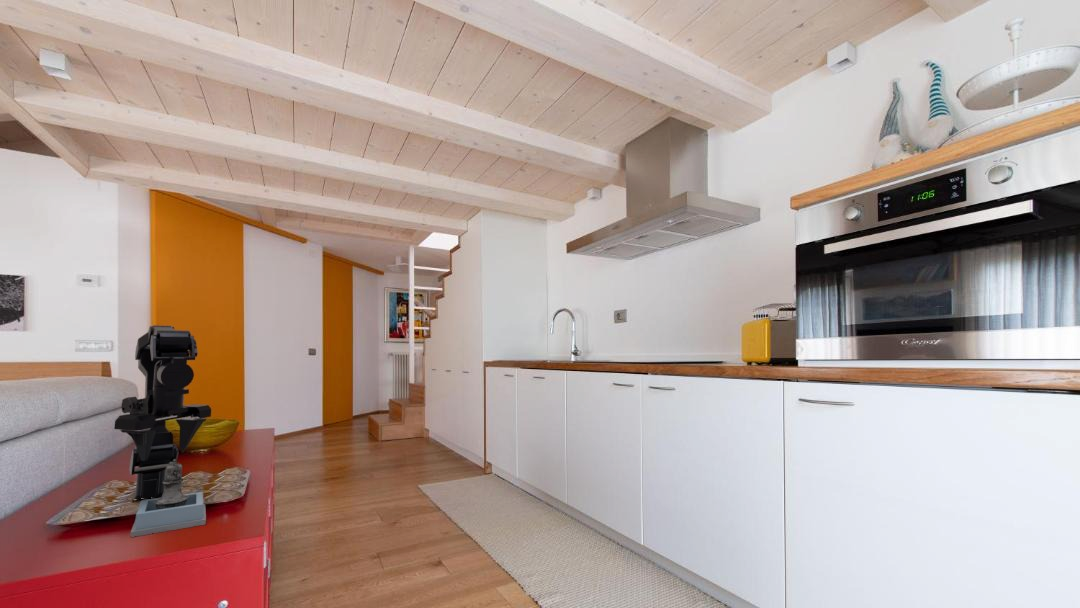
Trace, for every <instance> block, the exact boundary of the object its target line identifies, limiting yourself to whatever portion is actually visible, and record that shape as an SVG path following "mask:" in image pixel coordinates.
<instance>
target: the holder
mask: <svg viewBox="0 0 1080 608" xmlns="http://www.w3.org/2000/svg"><path fill="white" fill-rule="evenodd" d="M182 494H183V495H187V496H189V498H188V499H187V503H186V505H185V506H179V507H172V508H166V509H159V510H157V508H156V504H154V502H155V501H156V500H158V499H160V498H161V497H158V498H151V499H143V500H140V503H139V506H138V509H137V511H136V514H135V520H134V521H133V522H134V523H133V524H132V528H131V530H130V538H135V536H136V537H140V536H146V535H152V533H153V534H157V533H164V532H170V531H174V530H176V531H177V530H181V529H186V528H192V527H198V526H203V525H204V526H205V525H206V524H207V523H206V522H207V514H206V510H207V509H206V504H205V503H204V491H199V492H193V493H192V492H191V493H182Z"/></svg>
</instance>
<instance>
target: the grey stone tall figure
mask: <svg viewBox="0 0 1080 608" xmlns="http://www.w3.org/2000/svg"><path fill="white" fill-rule="evenodd" d="M176 461H177V462H176ZM182 474H183V465H182V464H181V463H179V462H178V459H177V460H176V459H174V460H173V463H171V464H169V465H168V466H167V467H166V473H165V481H163V484H164V492H163V495H162V497H159V498H160V499H158V500H156V501H155V502H154V504H156V508H157V510H159V509H166V508H172V507H179V506H185V505H186V503H187V499H188V498H189V496H187V495H183V494H184V493H183V492H182V482H183V481H184V478H182V477H183V475H182Z"/></svg>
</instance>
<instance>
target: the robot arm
mask: <svg viewBox="0 0 1080 608" xmlns="http://www.w3.org/2000/svg"><path fill="white" fill-rule="evenodd" d="M136 343H137V344H136V346H135V351H134V352H135V355H134V360H135V361H138V362H137V363H138V364H137V369H139V371H140V372H141V373H142V374H143V376H144V377H145V388H144V398H143V397H142V398H137V397H136V396H131V397H125V398H123V399H122V400H121V406H120V407H121V412H122V414H121V415H118V416H117V418H116V419H115V420H114V430H119V431H120V432H121V433H126V434H127V435H128V436H129V437H131V439H132V441H133V442H134V445H135V448H132V449H131V456H130V461H129V469H128V470H129V474H130V475H131V476H133V475H136V482H135V483H136V485H135V492H133V493H134V494H133V496H132V498H131V500H132V499H141V498H151V497H158V498H161V497H162V495H163V492H164V484H163V481H165V473H166V467H167V466H168V465H169V464H171V463H173V460H174V459H176V460H177V461H176V462H177V463H178V457H179V451H183V452H184V451H186V450H187V448H188V446H189V444H190V443H191V441H192V439H193V437H195V435H196V433H197V432H198V431H199V429H200V427H201V426H202V425H203V423H204V422H206V421H207V418H211V417H212V408H211V407H210V405H209V404H198V403H197V404H187V405H184V399H185V395H188V394H190V389H188V388H186V387H188V386H189V385H190V384H191V383H192V382H193V379H194V376H195V374H194V373H195V372H194V370H193V368H192V367H191V366H190V365H189V364H187V363H188V361H195V360H196V357H198V354H199V353H198V346H197V340H196V339H195V336H194V335H193V334H191V331H190V330H179V329H178V330H177V329H175V326H172V325H161V324H160V325H159V324H158V325H156V324H155V325H150V326H149V328H148V330H147V332H146V333H145V334H143V335H142V336H140V337H138V338H137V342H136ZM170 420H171V421H172V420H175V421H176V423H177V425H178V426H179V438H178V439H179V441H178V444H179V447H178V446H177V444H174V434H173V432H171V431H169V429H167V428H166V423H167V422H168V421H170ZM177 447H178V448H179V449H178V448H177ZM151 499H152V498H151Z"/></svg>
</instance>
